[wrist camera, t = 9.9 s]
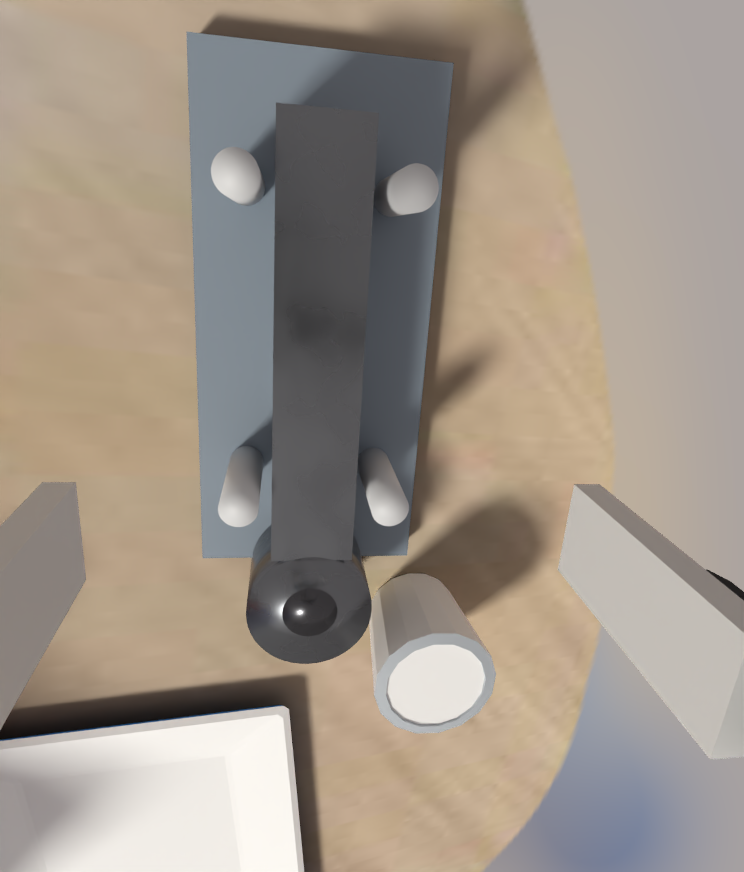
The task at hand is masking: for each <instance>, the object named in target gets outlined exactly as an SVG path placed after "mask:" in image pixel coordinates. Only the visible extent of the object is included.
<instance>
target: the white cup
mask: <svg viewBox="0 0 744 872" xmlns="http://www.w3.org/2000/svg"><path fill="white" fill-rule="evenodd" d="M371 602H372V612H371V618H370V621H369V625H370V640H371V655H372V670H373V684H374V696H375V699H376V702H377V704H378V707H379V710H380V712H381V714H382V715H383V716H384V717H385V718H387V719H388V720H389V721H390V722H391V723H392V724H393V725H394V726H395V727H398V728H401V729H404V730H407V731H410V732H413V733H440V732H442V731H445V730H448V729H451V728H454V727H457V726H460V725H462V724H463V723H465V722H466V721H467V720H469V719H470V718H472V717H473V716H474V715H476V714H477V713H478V712H480V710H481V709H482V707H483V706H484V705H485V703H486V702H487V700H488V699H489V697H490V696H491V694H492V691H493V686H494V682H495V677H496V673H495V669H494V665H493V661H492V658H491V655H490V654H489V652H488V651H487V649H486V647H485V646H484V644H483V643H482V641H481V640H480V638H479V637H478V635H477V633H476V632H475V630H474V629H473V627H472V626H471V624H470V622H469V621H468V619H467V618H466V616H465V615H464V613H463V612H462V610H461V608H460V607H459V605H458V604H457V602H456V601H455V599H454V598H453V596H452V594H451V593H450V591H449V590H448V589H447V588H446V587H445V586H444V584H443V583H442V582H441V581H440V580H439V579H436V578H434V577H432V576H429V575H427V574H419V573H408V574H405V575H402V576H399V577H396V578H392V579H391V580H390V581H388V582H387V583H386V584H384V585H383V586H382V587H381V588H379V589H378V591H377V593H376V594H375V596H374V598H373V599H372V601H371Z"/></svg>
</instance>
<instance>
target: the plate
mask: <svg viewBox="0 0 744 872" xmlns="http://www.w3.org/2000/svg"><path fill="white" fill-rule="evenodd" d="M0 872H304V864H303V853H302V842H301V832H300V821H299V810H298V800H297V789H296V778H295V768H294V757H293V746H292V736H291V725H290V715H289V709H288V708H287V707H285V706H283V705H275V706H266V707H258V708H250V709H242V710H234V711H226V712H218V713H210V714H202V715H194V716H186V717H178V718H170V719H162V720H154V721H146V722H138V723H130V724H122V725H114V726H106V727H98V728H90V729H82V730H74V731H66V732H58V733H50V734H42V735H34V736H26V737H18V738H10V739H2V740H0Z"/></svg>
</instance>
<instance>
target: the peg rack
mask: <svg viewBox="0 0 744 872" xmlns="http://www.w3.org/2000/svg"><path fill="white" fill-rule="evenodd" d="M187 60H188V93H189V126H190V158H191V191H192V224H193V257H194V289H195V322H196V355H197V388H198V420H199V453H200V486H201V519H202V551H203V558H247V557H252V554H253V550H254V547H255V545H256V542H257V541H258V539H259V537H260V536H261V535H262V533H263V532H264V531H265V530H266V529H267V528H268V527H269V526H270V525H271V508H272V417H273V326H274V236H275V145H276V102H277V103H287V104H297V105H307V106H317V107H327V108H336V109H346V110H356V111H366V112H376V113H379V122H378V138H377V155H376V171H375V188H374V204H373V220H372V237H371V253H370V270H369V286H368V303H367V319H366V336H365V352H364V368H363V385H362V401H361V418H360V434H359V451H358V467H357V484H356V500H355V517H354V533H353V535H354V536H355V538H356V540H357V542H358V546H359V549H360V553H361V556H392V555H407V550H408V539H409V529H410V518H411V508H412V497H413V486H414V476H415V465H416V455H417V444H418V434H419V423H420V412H421V402H422V391H423V381H424V370H425V360H426V349H427V339H428V328H429V317H430V307H431V296H432V286H433V275H434V265H435V254H436V243H437V233H438V222H439V212H440V201H441V191H442V180H443V170H444V159H445V148H446V138H447V127H448V117H449V106H450V96H451V85H452V74H453V64H454V63H450V62H441V61H433V60H424V59H416V58H407V57H399V56H390V55H381V54H373V53H364V52H356V51H347V50H339V49H330V48H322V47H313V46H304V45H296V44H287V43H279V42H270V41H262V40H253V39H244V38H236V37H227V36H219V35H210V34H202V33H193V32H187Z"/></svg>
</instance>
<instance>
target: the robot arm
mask: <svg viewBox="0 0 744 872" xmlns="http://www.w3.org/2000/svg"><path fill="white" fill-rule="evenodd" d="M558 571H559V572H560V573H561V574H562V576H563V577H564V578H565V579H566V581H567V582H568V583H569V584H570V586H571V587H572V588H573V589H574V591H575V592H576V593H577V594H578V596H579V597H580V598H581V599H582V601H583V602H584V603H585V604H586V606H587V607H588V608H589V609H590V611H591V612H592V613H593V614H594V615H595V617H596V618H597V619H598V620H599V622H600V623H601V624H602V625H603V627H604V628H605V629H606V630H607V632H608V633H609V634H610V635H611V636H612V638H613V639H614V640H615V642H616V643H617V644H618V645H619V646H620V648H621V649H622V650H623V652H624V653H625V654H626V655H627V656H628V657H629V659H630V660H631V661H632V663H633V664H634V665H635V666H636V668H637V669H638V670H639V671H640V672H641V674H642V675H643V676H644V678H645V679H646V680H647V681H648V683H649V684H650V685H651V686H652V687H653V689H654V690H655V691H656V692H657V694H658V695H659V696H660V698H661V699H662V700H663V701H664V702H665V704H666V705H667V706H668V707H669V709H670V710H671V711H672V712H673V714H674V715H675V716H676V717H677V719H679V721H680V722H681V724H682V725H683V726H684V727H685V729H686V730H687V731H688V732H689V733H690V735H691V736H692V737H693V739H694V740H695V741H696V742H697V743H698V744H699V746H700V747H701V748H702V750H703V751H704V752H705V753H706V755H707V756H708V757H709V758H710V759H723V758H736V757H744V592H743V591H742V590H741V589H739V588H738V587H737V586H735V585H734V584H733V583H732V582H730V581H728V580H726V579H724V578H723V577H720V576H719V575H717V574H715V573H713V572H711V571H709V570H705V569H704V568H703V567H701V566H700V565H699V564H698V563H696V562H695V561H694V560H693V559H691V558H690V557H689V556H688V555H687V554H685V553H684V552H683V551H682V550H680V549H679V548H678V547H677V546H675V545H674V544H673V543H672V542H670V541H669V540H668V539H667V538H665V537H664V536H663V535H662V534H660V533H659V532H658V531H657V530H656V529H654V528H653V527H652V526H650V525H649V524H648V523H647V522H646V521H644V520H643V519H642V518H641V517H639V516H638V515H637V514H636V513H634V512H633V511H632V510H631V509H629V508H628V507H627V506H626V505H625V504H623V503H622V502H621V501H619V500H618V499H617V498H616V497H615V496H613V495H612V494H611V493H610V492H608V491H607V490H606V489H605V488H603V487H602V486H601V485H600V484H574V489H573V494H572V499H571V504H570V509H569V515H568V520H567V525H566V530H565V535H564V541H563V546H562V551H561V556H560V561H559V567H558ZM85 580H86V575H85V565H84V556H83V546H82V537H81V527H80V518H79V509H78V499H77V490H76V482H42V483H41V484H40V485H39V486H38V487H37V488H36V489H35V490H34V492H33V493H32V494H31V495H30V496H29V497H28V498H27V499H26V500H25V501H24V502H23V503H22V504H21V505H20V506H19V507H18V508H17V509H16V510H15V511H14V512H13V513H12V514H11V515H10V516H9V518H8V519H7V520H6V521H5V522H4V523H3V524H2V525H1V526H0V730H1V728H2V726H3V724H4V723H5V721H6V719H7V717H8V716H9V714H10V712H11V710H12V709H13V707H14V705H15V703H16V702H17V700H18V698H19V696H20V695H21V693H22V691H23V689H24V688H25V686H26V684H27V682H28V681H29V679H30V677H31V675H32V673H33V672H34V670H35V668H36V666H37V665H38V663H39V661H40V659H41V658H42V656H43V654H44V652H45V651H46V649H47V647H48V645H49V644H50V642H51V640H52V638H53V637H54V635H55V633H56V631H57V630H58V628H59V626H60V624H61V623H62V621H63V619H64V617H65V615H66V614H67V612H68V610H69V608H70V607H71V605H72V603H73V601H74V600H75V598H76V596H77V594H78V593H79V591H80V589H81V587H82V586H83V584H84V582H85Z"/></svg>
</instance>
